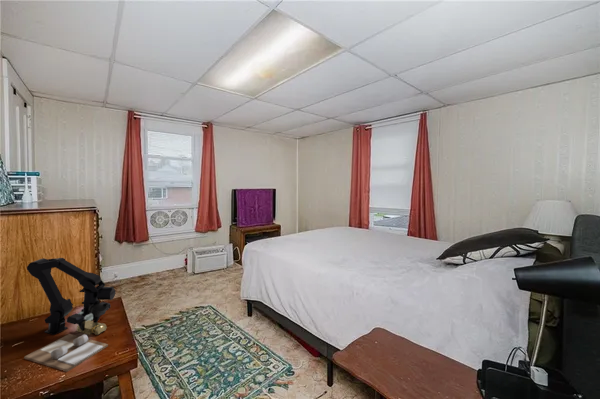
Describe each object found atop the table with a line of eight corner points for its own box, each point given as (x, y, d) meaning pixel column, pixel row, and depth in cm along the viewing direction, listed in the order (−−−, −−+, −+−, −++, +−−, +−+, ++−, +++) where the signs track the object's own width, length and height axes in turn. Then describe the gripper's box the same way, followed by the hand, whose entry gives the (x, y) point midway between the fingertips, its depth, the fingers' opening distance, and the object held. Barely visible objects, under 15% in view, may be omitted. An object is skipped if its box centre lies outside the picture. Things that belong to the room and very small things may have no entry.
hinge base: (24, 358, 110) (24, 347, 110) (69, 335, 128) (70, 326, 127) (67, 371, 105) (67, 360, 105) (107, 346, 123) (108, 336, 123)
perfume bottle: (76, 331, 132) (77, 323, 131) (88, 325, 137) (88, 318, 137) (97, 336, 129) (97, 329, 129) (108, 330, 135) (108, 323, 135)
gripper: (84, 310, 122) (82, 341, 123) (119, 295, 140) (117, 321, 141) (66, 306, 124) (65, 336, 125) (103, 291, 143) (101, 317, 143)
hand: (89, 327), depth 134 cm, fingers closed on perfume bottle, 6 cm apart
